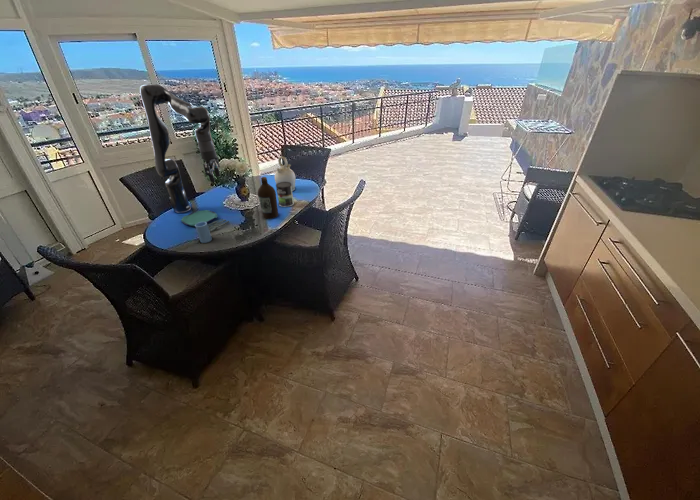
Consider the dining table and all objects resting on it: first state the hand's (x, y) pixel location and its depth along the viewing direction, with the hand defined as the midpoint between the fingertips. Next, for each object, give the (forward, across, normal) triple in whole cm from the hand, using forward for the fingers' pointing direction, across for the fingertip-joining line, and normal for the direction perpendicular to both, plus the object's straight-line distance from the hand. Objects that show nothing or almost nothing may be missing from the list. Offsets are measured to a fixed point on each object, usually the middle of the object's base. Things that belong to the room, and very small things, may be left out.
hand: (215, 179), depth 163 cm
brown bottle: (+28, -9, +24) cm, 38 cm away
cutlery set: (+28, -3, -15) cm, 32 cm away
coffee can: (+28, -27, +31) cm, 50 cm away
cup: (+28, +19, -6) cm, 34 cm away
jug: (+28, -53, +27) cm, 66 cm away
